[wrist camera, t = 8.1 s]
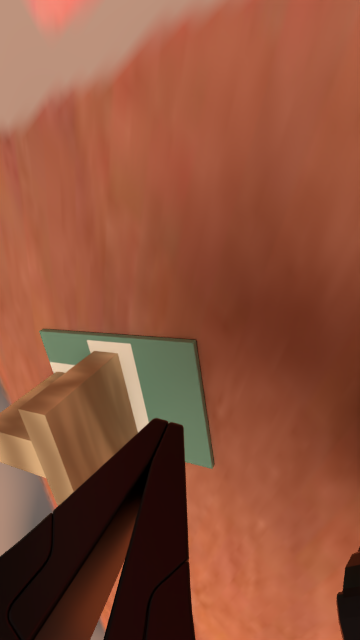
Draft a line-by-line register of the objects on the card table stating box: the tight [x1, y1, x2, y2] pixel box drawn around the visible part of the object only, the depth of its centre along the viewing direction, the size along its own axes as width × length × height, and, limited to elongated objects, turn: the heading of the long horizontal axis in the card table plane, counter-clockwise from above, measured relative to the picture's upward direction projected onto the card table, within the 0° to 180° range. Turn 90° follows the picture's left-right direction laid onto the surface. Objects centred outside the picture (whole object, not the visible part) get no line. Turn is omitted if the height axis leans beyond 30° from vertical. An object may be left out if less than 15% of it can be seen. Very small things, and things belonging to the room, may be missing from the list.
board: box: [39, 329, 214, 469], centre depth 30 cm, size 16×12×1 cm
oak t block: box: [0, 351, 138, 505], centre depth 28 cm, size 8×9×8 cm
